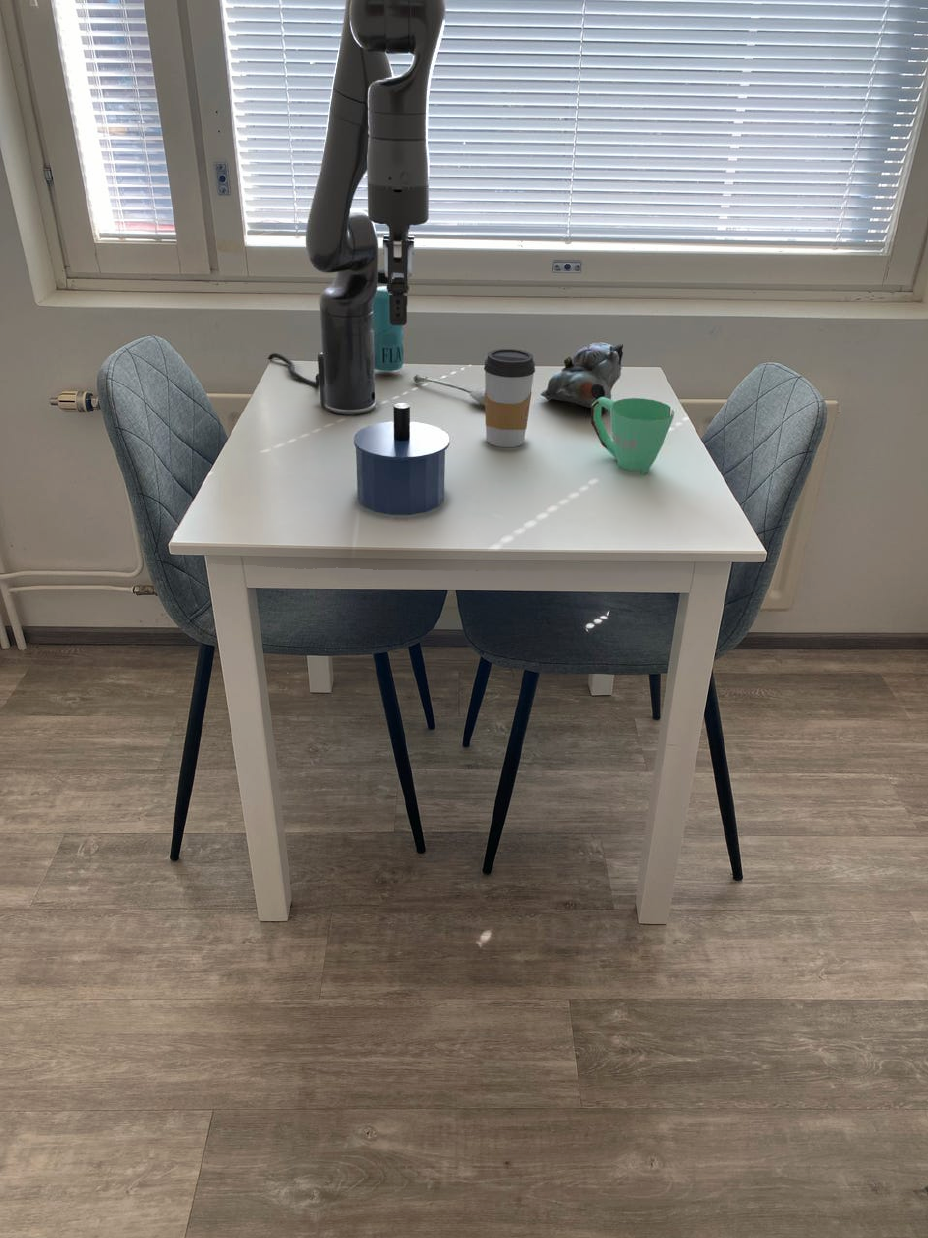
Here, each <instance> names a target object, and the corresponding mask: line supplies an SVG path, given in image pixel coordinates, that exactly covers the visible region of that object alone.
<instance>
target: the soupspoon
mask: <svg viewBox="0 0 928 1238" xmlns="http://www.w3.org/2000/svg"><path fill="white" fill-rule="evenodd" d="M413 381H414V384H419V383H422V382H423V383H428V382H429V383H433V384H437V385H442V386H445V387H450V388H454V389H457V390H460V391H463V392H466V393H468V394H469V395H470V397H471V398H472V399H473V400H475V401H476V402H478V403H479V404H480V405H483V406H484V407H485V387H482V388H481V387H480V388H477V389H471V388H468V387H466V386H462V385H458V384H455V383H450V382H445V381H442V380H437V379H432V378H429V377H425V376H421V375H419V374H415V375H414V376H413Z"/></svg>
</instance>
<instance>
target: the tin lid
mask: <svg viewBox="0 0 928 1238" xmlns="http://www.w3.org/2000/svg"><path fill="white" fill-rule="evenodd" d="M392 410H393V412H392V413H393V421H384V422H378V423H374V424H371V425H368V426H365V427H363V428H361V429H359V430H358V431H357V432H356V433H355V435H354V437H353V444H354V446H355V449H356V448H357V449H358V450H360V451H361V452H363V453H365V454H367V455H370V456H373V457H377V458H381V459H388V460H417V459H424V458H428V457H432V456H435V455H438V454H440V453H442V452H443V451H445V452H446V450H447V449H448V448H449V446H450V436H449V435H448V433H447V432H446V431H444V430H443V429H441V428H440V427H437V426H434V425H431V424H428V423H423V422H417V421H411V405H410V404H409V403H407V402H406V403H405V402H398V403H394V404H393V409H392Z"/></svg>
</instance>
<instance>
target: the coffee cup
mask: <svg viewBox="0 0 928 1238" xmlns="http://www.w3.org/2000/svg"><path fill="white" fill-rule="evenodd" d="M483 370H484V373H485V374H484V375H485V376H484V377H485V378H484V379H485V381H484V383H485V387H484V388H485V406H484V408H485V410H484V411H485V429H486V430H485V433H486V435H485V436H486V442H488V443H489V444H490V445H492V446H495V447H500V448H514V447H519V446H522V445H523V444H524V442H525V436H526V430H527V427H528V421H529V420H528V419H529V413H530V406H531V400H532V399H531V398H532V388H533V380H534V374H535V373H536V363H535V360H534V355H533V354H532V353H531V352H529V351H526V350H522V349H518V348H517V349H516V348H499V349H498V348H497V349H493V350H491V351H489V352H488V353H487V358H486V359H485V361H484V367H483Z"/></svg>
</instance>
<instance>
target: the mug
mask: <svg viewBox="0 0 928 1238" xmlns="http://www.w3.org/2000/svg"><path fill="white" fill-rule="evenodd" d="M602 407H605V408H606V409H608V411H609V414H610V425H611V436H612V437H610V435H609V432H608V429H607V427H606V426H605V423H604V421H603V419H602V413H601V412H602ZM674 416H675V411H674V409H671V406H670V405H668V404H666V403H664V402H662V401H658V400H655V399H649V398H639V397H632V398H630V397H629V398H622V399H618V400H616V401H615V400H613V399H612V398H611V399H608V398H605V397H601V398H599V399H598V400H596V401H595V402H594V403H593V404H592V406H591V408H590V424H591V426H592V428H593V430H594V433H595V434H596V436H597V438H598V440H599V442H600V444H601V445H602V447H603V448H604V449H606V451H607V452H608V453H610V455H612V456H613V457H614V458H615V460H616V461H617V465H618V467H619V468H621V469H623V470H625V471H628V472H634V473H640V475H644V474H646V473H648V472H649V471H650V469H651V467H652V466H653V464H654V463H655V461H656V459H657V457H658V455H659V453H660V451H661V449H662V447H663V445H664V443H665V440H666V437H667V435H668V432H669V430H670V427H671V425H672V422H673V420H674ZM611 438H612V439H611Z"/></svg>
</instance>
